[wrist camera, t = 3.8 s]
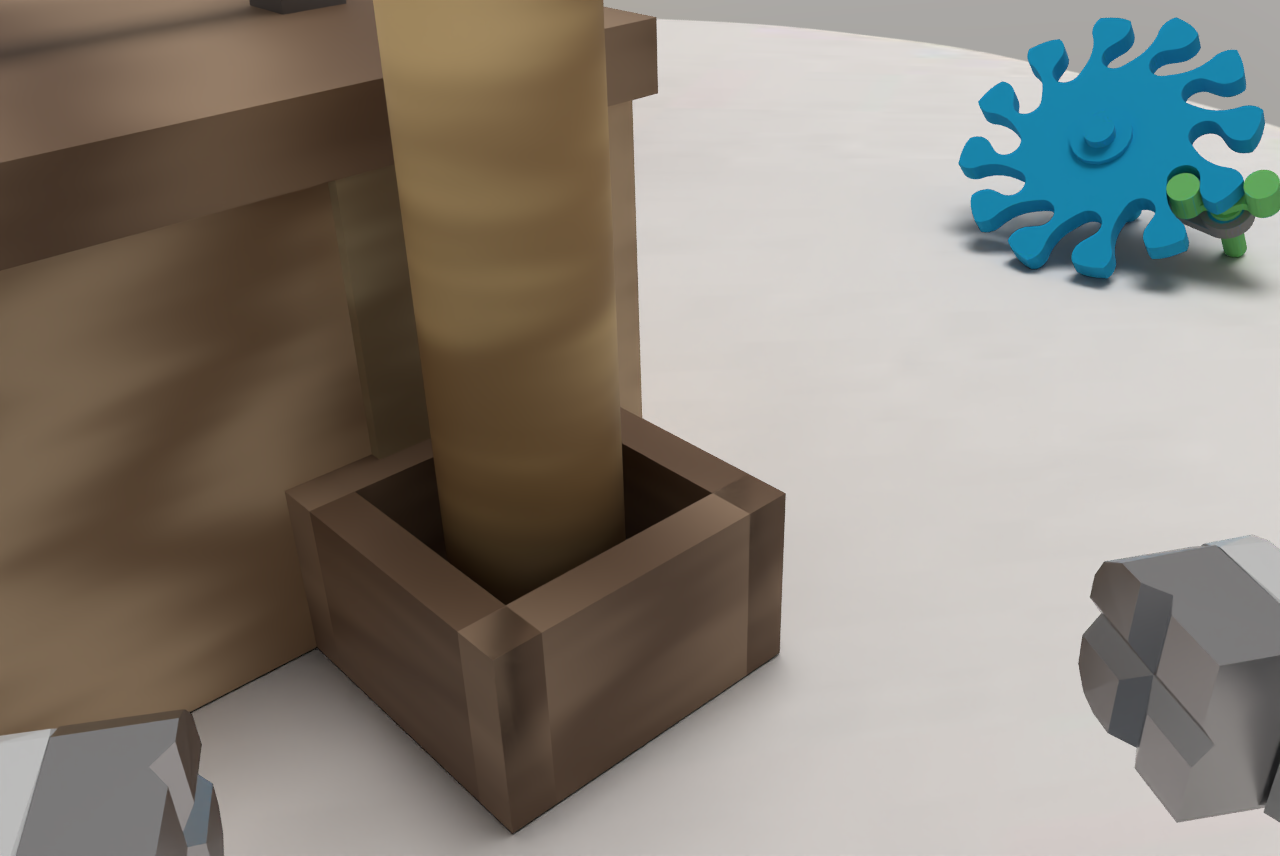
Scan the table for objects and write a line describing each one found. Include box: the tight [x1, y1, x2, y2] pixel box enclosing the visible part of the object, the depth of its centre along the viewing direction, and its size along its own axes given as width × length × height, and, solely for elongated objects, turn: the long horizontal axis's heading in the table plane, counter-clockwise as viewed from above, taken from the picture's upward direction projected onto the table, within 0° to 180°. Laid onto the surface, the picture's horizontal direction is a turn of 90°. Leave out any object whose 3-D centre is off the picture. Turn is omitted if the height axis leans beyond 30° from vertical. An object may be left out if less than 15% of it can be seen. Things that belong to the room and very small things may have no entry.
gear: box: [959, 18, 1280, 279], centre depth 44 cm, size 11×6×10 cm
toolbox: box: [0, 0, 786, 833], centre depth 24 cm, size 23×21×16 cm
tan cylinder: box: [373, 0, 626, 605], centre depth 22 cm, size 5×5×16 cm
